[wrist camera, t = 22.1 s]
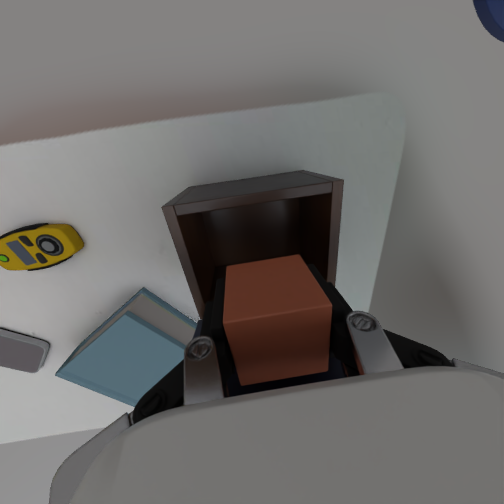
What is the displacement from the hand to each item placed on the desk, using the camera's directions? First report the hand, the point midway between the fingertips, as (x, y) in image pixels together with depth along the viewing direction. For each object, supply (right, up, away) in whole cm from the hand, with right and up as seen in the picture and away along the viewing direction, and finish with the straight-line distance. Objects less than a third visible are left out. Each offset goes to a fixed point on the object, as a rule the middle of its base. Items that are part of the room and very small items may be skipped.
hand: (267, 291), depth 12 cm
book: (-14, -14, +21) cm, 29 cm away
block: (0, 0, 0) cm, 0 cm away
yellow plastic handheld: (-28, +3, +11) cm, 30 cm away
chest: (-1, +6, +11) cm, 13 cm away
